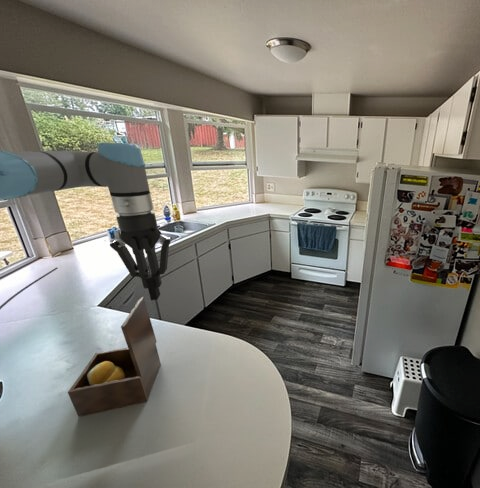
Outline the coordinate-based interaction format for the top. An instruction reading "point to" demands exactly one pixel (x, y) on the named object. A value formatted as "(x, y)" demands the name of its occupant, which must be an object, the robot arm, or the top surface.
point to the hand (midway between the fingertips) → (155, 297)
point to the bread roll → (105, 373)
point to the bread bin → (114, 384)
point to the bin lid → (139, 336)
